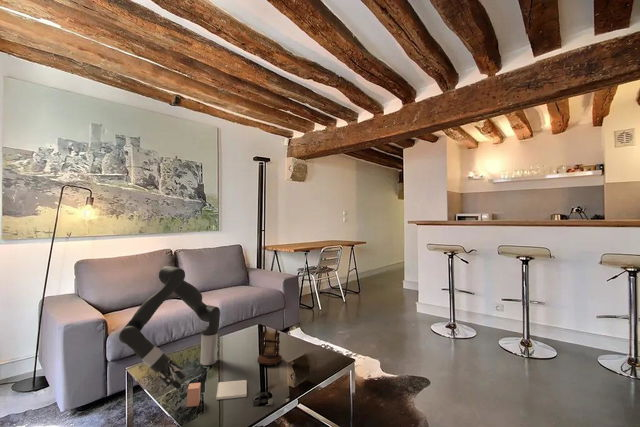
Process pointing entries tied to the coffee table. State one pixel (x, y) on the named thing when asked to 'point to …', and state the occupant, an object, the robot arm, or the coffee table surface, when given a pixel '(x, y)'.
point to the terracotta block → (193, 394)
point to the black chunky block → (261, 400)
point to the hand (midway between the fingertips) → (181, 382)
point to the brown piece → (270, 348)
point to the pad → (231, 389)
